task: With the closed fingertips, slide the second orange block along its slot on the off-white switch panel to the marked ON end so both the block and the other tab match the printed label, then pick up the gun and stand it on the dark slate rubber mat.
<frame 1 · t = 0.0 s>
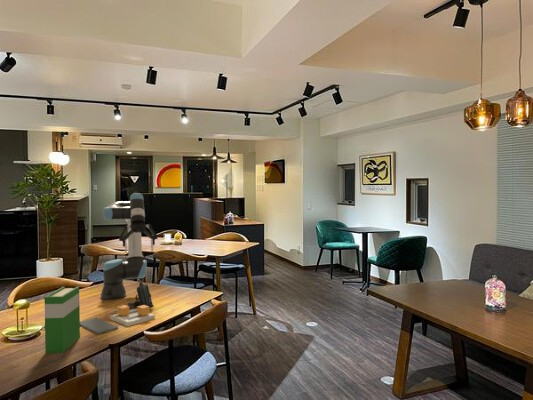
hand: (139, 250, 215), 36 cm above the table, tool tilted 35°, fingers open, 13 cm apart
gun: (140, 308, 230), on the table
orange block 2: (143, 310, 212), point 4 cm above the table, slide at 0.0 cm
tab 1: (123, 310, 212), point 4 cm above the table, slide at 7.0 cm
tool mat: (97, 326, 200), on the table
hardback book: (63, 345, 177), on the table
switch panel: (132, 318, 212), on the table
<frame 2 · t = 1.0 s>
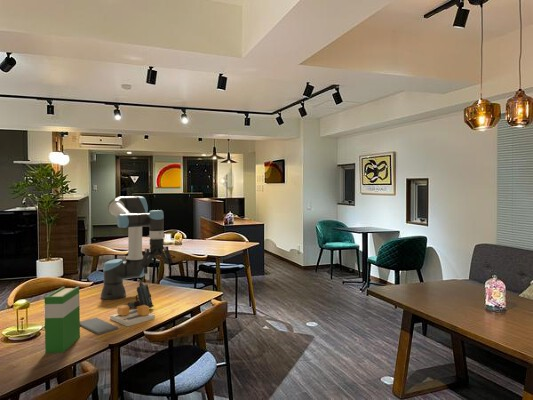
hand: (157, 277, 218), 21 cm above the table, tool pointing down, fingers open, 12 cm apart
nothing on the table moved.
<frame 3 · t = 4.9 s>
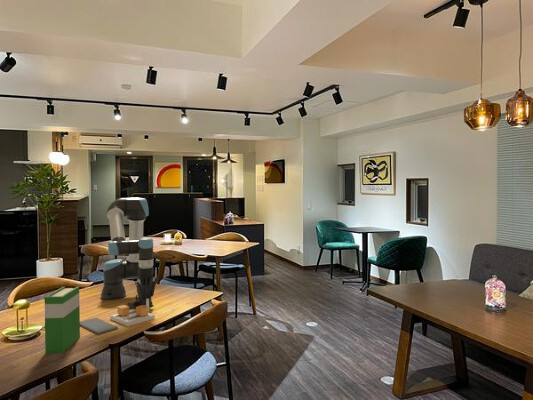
hand: (146, 310, 213), 4 cm above the table, tool pointing down, fingers closed
orange block 2: (141, 310, 211), point 4 cm above the table, slide at 0.9 cm, touching gripper
everything else where it was.
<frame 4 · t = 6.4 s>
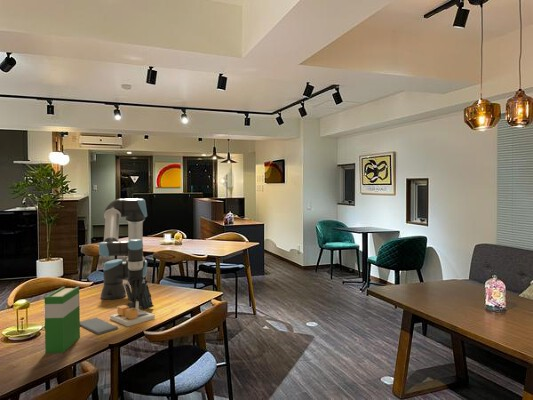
hand: (136, 313, 208), 4 cm above the table, tool pointing down, fingers closed
orange block 2: (131, 313, 206), point 4 cm above the table, slide at 7.1 cm, touching gripper
everything else where it was.
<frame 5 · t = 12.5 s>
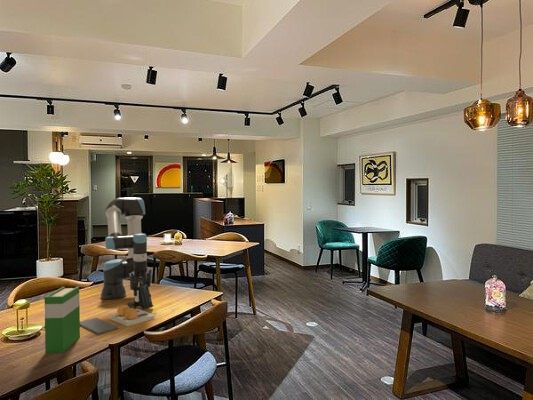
hand: (140, 300, 230), 5 cm above the table, tool pointing down, fingers closed on gun, 4 cm apart
gun: (140, 308, 230), on the table, touching gripper
orange block 2: (131, 313, 206), point 4 cm above the table, slide at 7.2 cm
everything else where it was.
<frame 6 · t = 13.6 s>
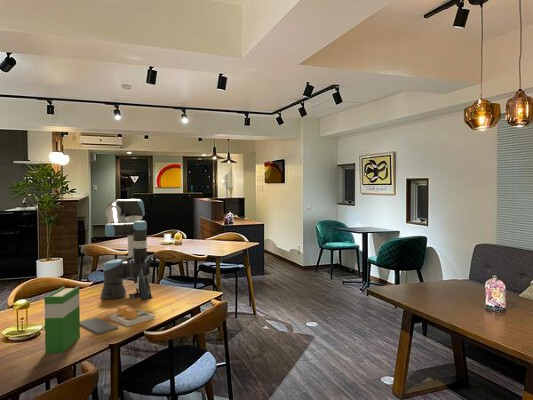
hand: (140, 287, 230), 12 cm above the table, tool pointing down, fingers closed on gun, 3 cm apart
gun: (140, 300, 230), point 5 cm above the table, touching gripper
everything else where it was.
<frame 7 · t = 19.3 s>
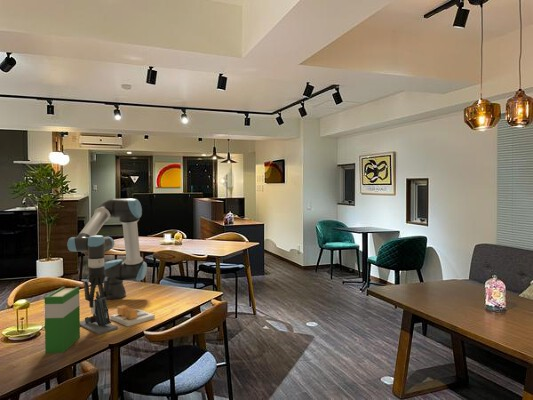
hand: (97, 312, 199), 7 cm above the table, tool pointing down, fingers closed on gun, 3 cm apart
gun: (97, 325, 200), point 1 cm above the table, touching gripper, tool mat
everything else where it was.
when the fingers open (7 cm above the table, at t = 19.3 s): gun stays where it is, resting on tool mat.
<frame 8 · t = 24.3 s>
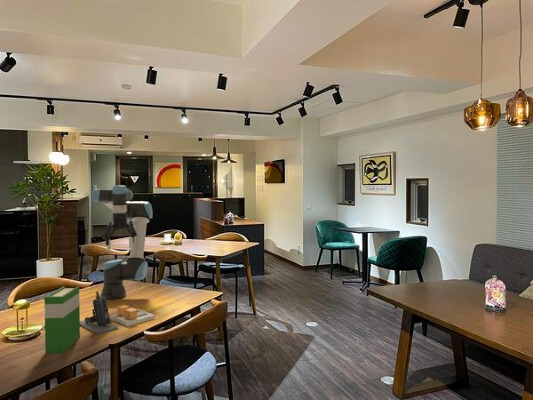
hand: (120, 249, 226), 35 cm above the table, tool pointing down, fingers open, 13 cm apart
gun: (97, 325, 200), point 1 cm above the table, touching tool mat
everything else where it was.
at the end: orange block 2 slide at 7.2 cm; tab 1 slide at 7.0 cm; gun inside the target area on the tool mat (0.2 cm from its centre), point 0.8 cm above the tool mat's base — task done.
